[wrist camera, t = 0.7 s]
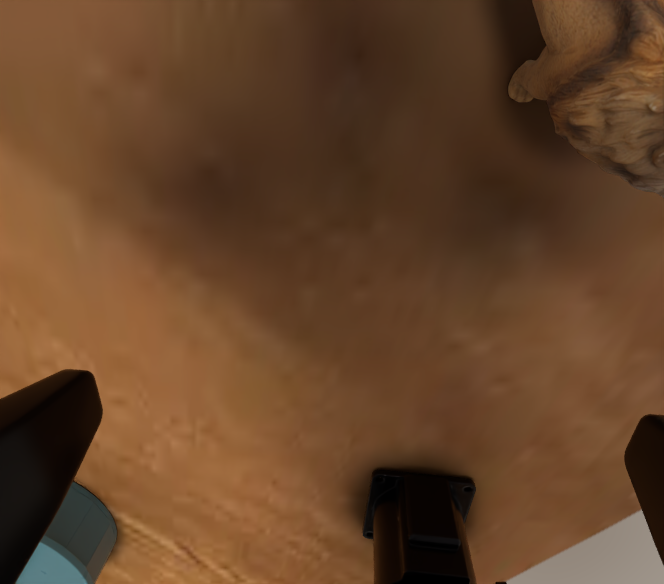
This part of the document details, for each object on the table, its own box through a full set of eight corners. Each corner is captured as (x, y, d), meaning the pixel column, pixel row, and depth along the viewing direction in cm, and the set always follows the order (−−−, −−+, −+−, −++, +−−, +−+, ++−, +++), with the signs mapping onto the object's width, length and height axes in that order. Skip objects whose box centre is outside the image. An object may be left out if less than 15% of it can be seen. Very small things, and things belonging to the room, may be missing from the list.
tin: (127, 570, 35) (101, 625, 32) (-11, 554, 35) (-52, 607, 32) (103, 473, 30) (69, 527, 26) (-60, 456, 30) (-115, 507, 27)
